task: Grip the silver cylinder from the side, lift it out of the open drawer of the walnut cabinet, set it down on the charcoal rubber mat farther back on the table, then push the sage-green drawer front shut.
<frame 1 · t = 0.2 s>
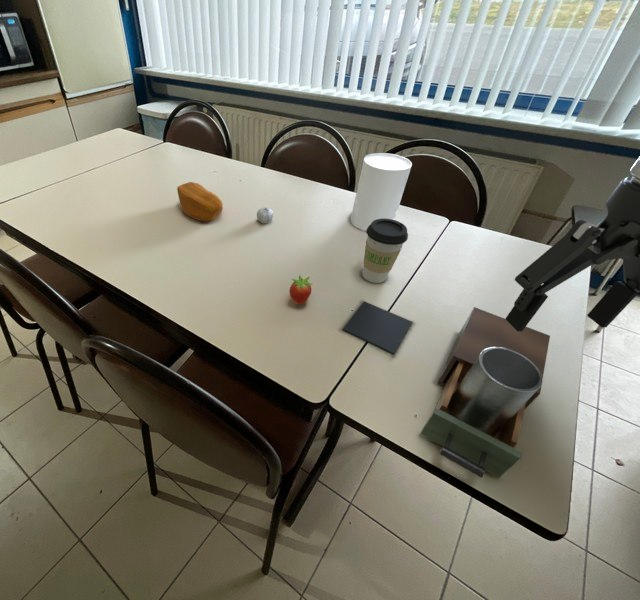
hand: (555, 323, 54), 22 cm above the table, tool pointing down, fingers open, 13 cm apart
garlic: (264, 221, 121), on the table
cabinet: (483, 373, 75), on the table
fruit: (298, 303, 91), on the table
mat: (377, 326, 85), on the table
coffee cup: (373, 276, 99), on the table
bread: (202, 211, 127), on the table
drawer: (474, 419, 62), point 4 cm above the table, slide at 12.5 cm, touching silver cylinder
silver cylinder: (471, 417, 65), point 2 cm above the table, touching drawer
canister: (371, 222, 121), on the table
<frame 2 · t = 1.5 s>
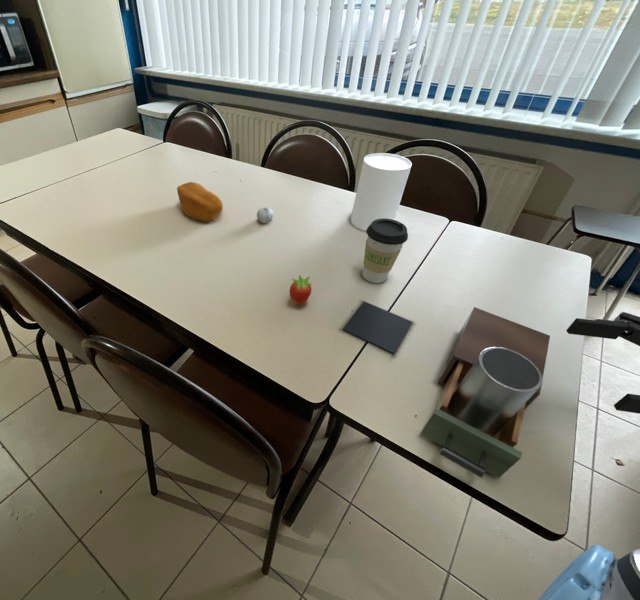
hand: (594, 360, 51), 20 cm above the table, tool horizontal, fingers open, 13 cm apart
nothing on the table moved.
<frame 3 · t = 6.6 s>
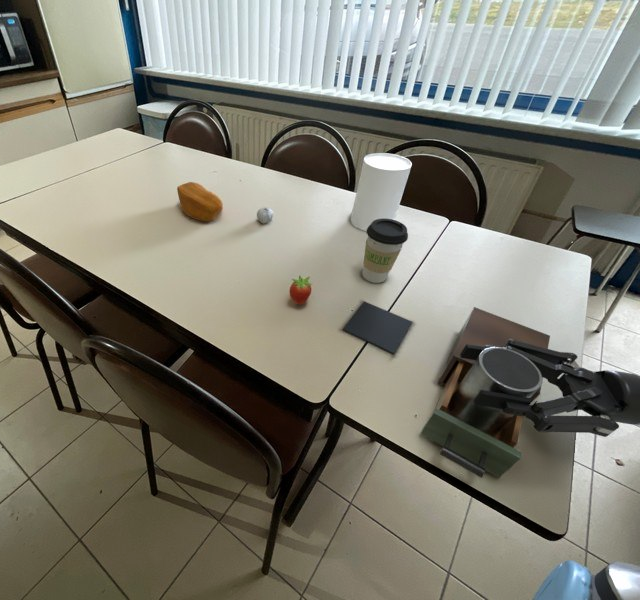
hand: (470, 372, 58), 13 cm above the table, tool horizontal, fingers closed on silver cylinder, 8 cm apart
silver cylinder: (471, 417, 65), point 2 cm above the table, touching drawer, gripper
everything else where it was.
when the fingers open (12 cm above the table, at t = 17.7 s): silver cylinder stays where it is, resting on mat.
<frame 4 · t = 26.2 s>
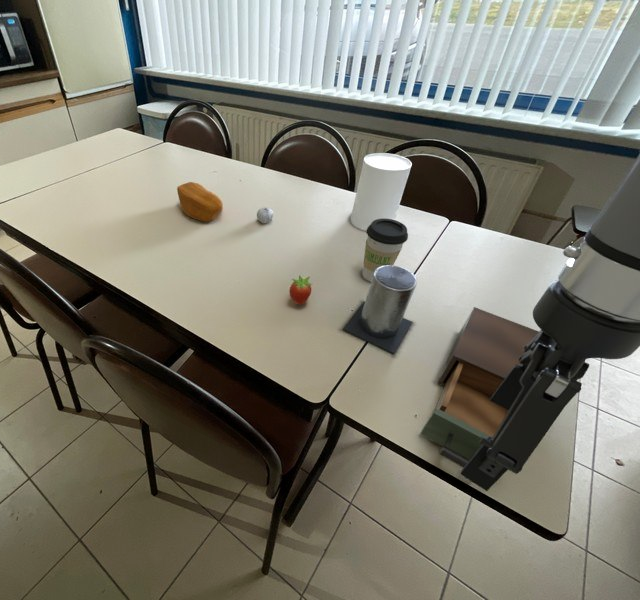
hand: (489, 439, 44), 19 cm above the table, tool pointing down, fingers open, 13 cm apart
drawer: (474, 419, 62), point 4 cm above the table, slide at 12.5 cm
silver cylinder: (378, 325, 84), resting on mat
everything else where it was.
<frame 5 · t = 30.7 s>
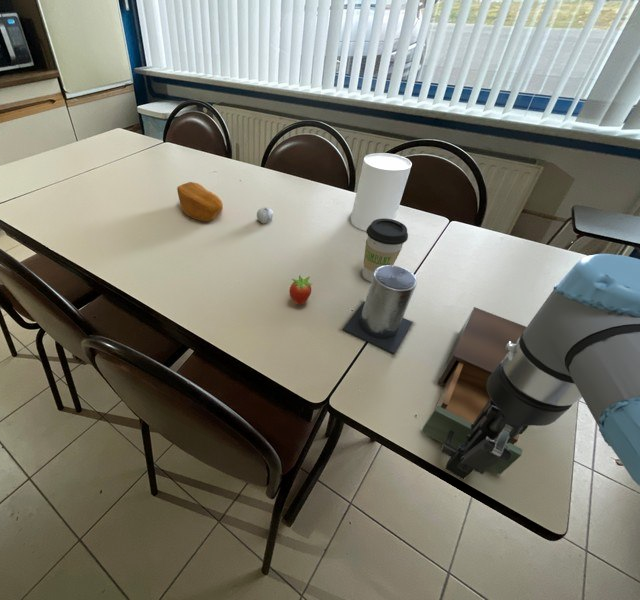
hand: (455, 470, 57), 3 cm above the table, tool pointing down, fingers closed
drawer: (474, 417, 62), point 4 cm above the table, slide at 11.9 cm, touching gripper
everything else where it was.
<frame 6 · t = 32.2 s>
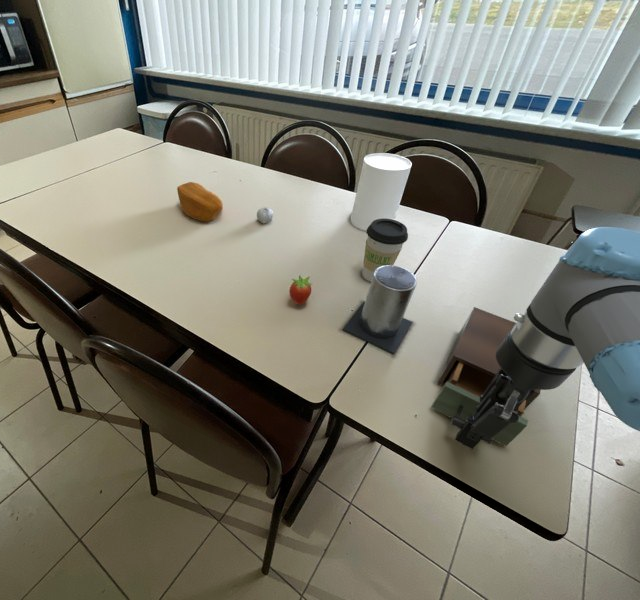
hand: (464, 441, 61), 3 cm above the table, tool pointing down, fingers closed
drawer: (482, 393, 66), point 4 cm above the table, slide at 5.9 cm, touching gripper
everything else where it was.
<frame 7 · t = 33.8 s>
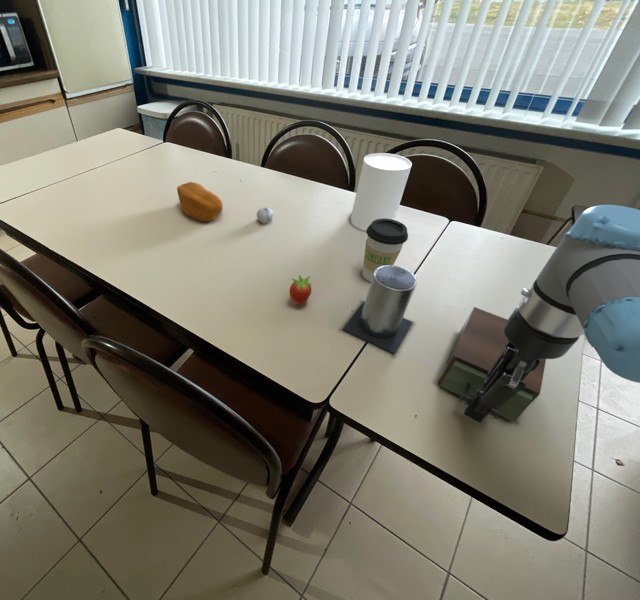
hand: (472, 415, 64), 3 cm above the table, tool pointing down, fingers closed
drawer: (488, 372, 69), point 4 cm above the table, slide at 0.0 cm, touching cabinet, gripper
everything else where it was.
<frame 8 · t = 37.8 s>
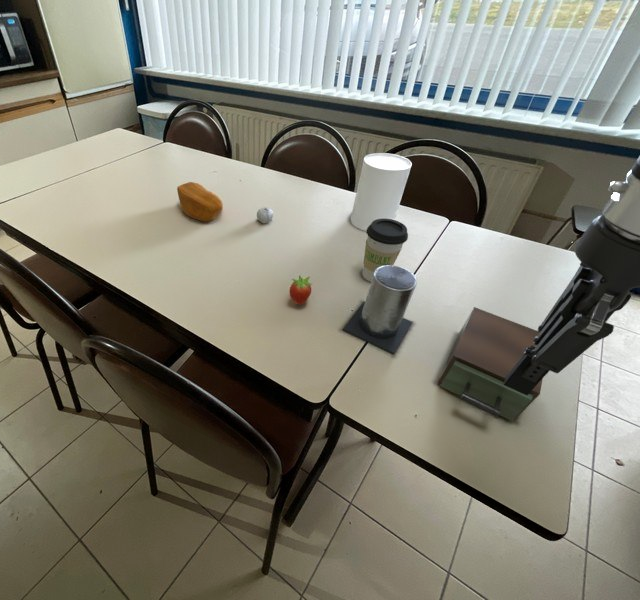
hand: (516, 386, 48), 20 cm above the table, tool pointing down, fingers closed
drawer: (488, 372, 69), point 4 cm above the table, slide at 0.0 cm
everything else where it was.
at the end: silver cylinder inside the target area on the mat (0.1 cm from its centre), point 0.5 cm above the mat's base; silver cylinder tilted 0°; drawer slide at 0.0 cm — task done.
